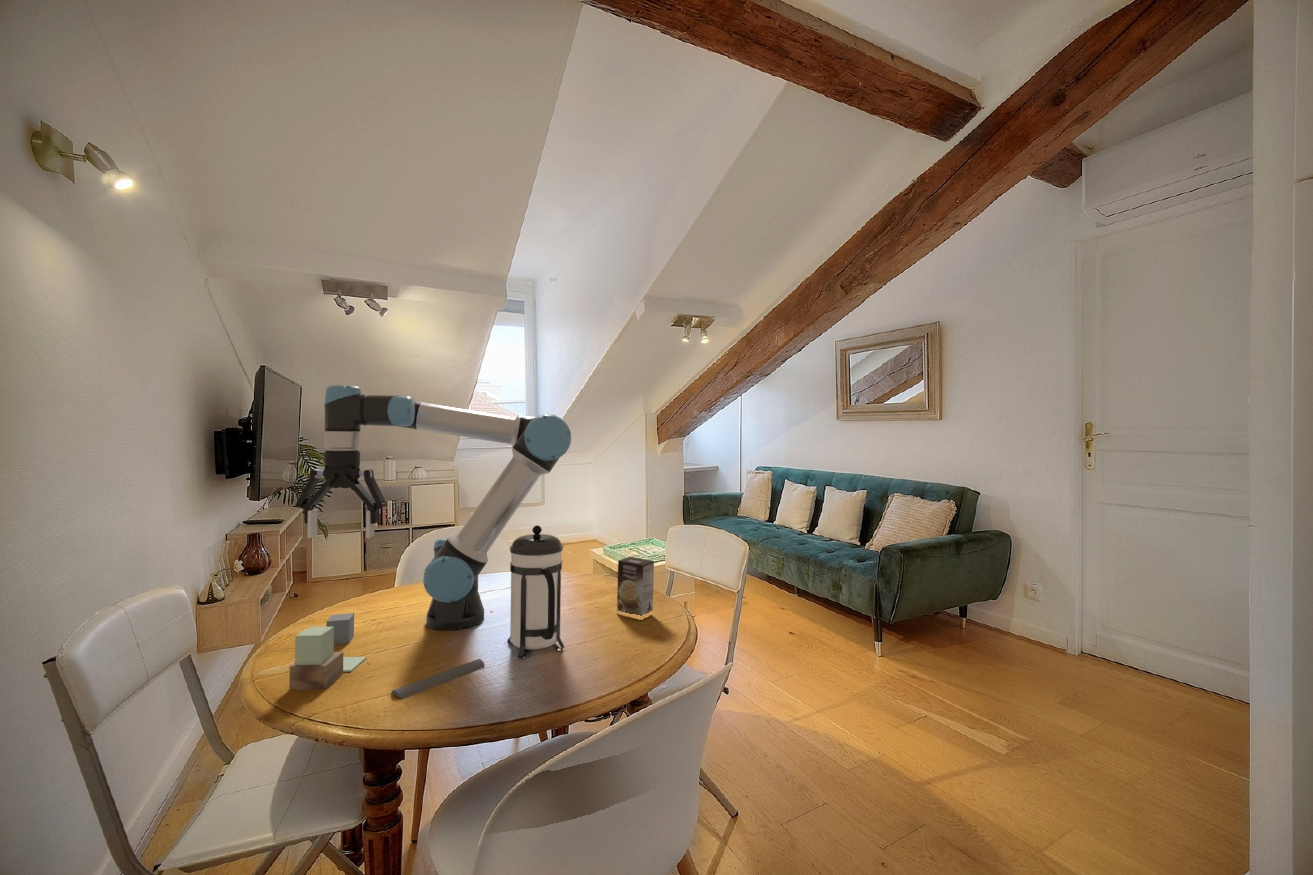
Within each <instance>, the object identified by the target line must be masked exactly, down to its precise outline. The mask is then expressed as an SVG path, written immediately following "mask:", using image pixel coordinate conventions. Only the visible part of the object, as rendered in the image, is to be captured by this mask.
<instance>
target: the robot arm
mask: <svg viewBox="0 0 1313 875" xmlns="http://www.w3.org/2000/svg"><path fill="white" fill-rule="evenodd" d="M323 406H324V439H323V440H324V441H323V442H324V444H323V447H324V448H325V449H327V450H324V453H323V461H324V462H323V464H324V469H323V470H322V469H320V468H314V469H310V471H309V479H307V482H306V484H305V486H304V487H303V490H302V492H301V493H300V495H299V497H298V499H297V501H296V502H295V507H296V508H299V509H302V510H303V513H304V514H303V515H304V518H303V519H304V524H307V539H312V538H315V537H317V536H318V512H319V510H318V509H317V508H316V506H317V505H318V504H319V502H321V500H322V499H323V498H324V497H325V496H326V495H327V494H328V492H329V491H331V490H332V489H340V488H341V489H350V490H352V491H353V492H354V493H355V495H357V496H358V497H359V499H360V500H361V501H362V502H363V503H364V504H365V505H366V507H367V508H368V509H369V510H365V513H366V515H365V516H366V517H365V538H366V539H370V538H371V539H372V538H373V537H375V531H376V530H375V527H376V526H375V524H378V522H379V510H380V509H382V508H385V507H387V505H388V504H387V502H386V499H385V498H384V495H383V493H382V492H381V490H380V487H379V485H378V483H377V481H376V479H375V474H374V470H373V469H371V468H370V469H364V470H361V468H360V465H361V451H360V450H358V449H360V448H361V426H381V427H382V426H383V427H399V428H405V429H413V430H419V431H426V432H432V433H437V434H438V433H439V434H445V435H450V436H456V437H462V438H470V439H476V440H482V441H489V442H494V443H501V444H505V445H507V444H508V445H510V446H512V448H511V451H512V452H511V453H512V458H511V459H510V460H509V462H508V463H507V464H506V466H505V467H504V468H503V470H502V472H501V473H500V474H499V476H498V478H497V479H496V480H495V481H494V483H493V485H491V487H490V489H489V490H488V492H487V493H486V494H485V495H484V497H483V498H482V500H481V501H480V503H479V504H478V505H477V507H476V508H475V510H474V511H473V513H472V514H471V516H470V517H469V518H468V519H467V521H466V522H465V524H464V525H463V526H462V528H461V530H460V531H459V533H458V534H455V535H450V536H448V537H447V538H439V539H436V540H435V541H434V546H433V558H432V560H431V561H430V562H429V563H428V565H426V567H425V568H424V572H423V580H422V581H423V587H424V589H425V592H426V593H427V594H428V595H429V596H430V597H431V601H430V605H429V607H428V610H427V613H426V616H425V617H426V619H425V620H426V622H425V623H426V626H427V627H429V628H431V629H434V630H439V631H441V630H442V631H452V630H460V629H467V628H470V627H473V626H476V625H478V624H480V623H482V622H483V621H484V619H485V608H484V605H483V601H482V600H481V596H480V593H479V575H480V573H481V572H482V570H484V568H485V566H486V565H487V563H488V562H489V558H488V552H489V550H490V548H491V547H492V546H493V545H494V542H495V541H496V540H497V539H498V537H499V535H500V534H501V533H502V531H503V530H504V528H505V527H506V526H507V524H508V523H509V522H510V520H511V518H512V517H513V515H515V512H516V511H517V510H518V509H519V507H520V505H522V503H523V501H524V500H525V498H526V497H527V496H528V494H529V492H531V489H533V487H534V486H535V484H536V482H537V481H538V480H539V478H540V477H541V476H542V475H545V474H546V475H547V474H550V472H551V471H552V469H554V467H555V465H556V464H557V463H558V461H559V459H560V458H561V457H563V455H565V454H566V453H567V451H568V450H569V448H570V446H571V441H572V433H571V432H572V431H571V430H570V427H569V425H568V424H567V422H566V421H564V420H563V419H562V417H559V416H557V415H555V414H550V413H543V414H540V415H537V416H527V415H520V414H519V415H517V416H516V417H512V416H511V417H510V416H505V415H498V414H493V413H487V412H481V411H475V410H469V409H463V408H458V407H452V406H446V405H440V404H434V403H428V402H427V403H426V402H422V401H421V402H420V401H416V400H414V399H413V397H411V396H407V395H406V396H404V395H399V394H398V395H396V394H395V395H382V394H381V395H380V394H379V395H376V394H375V395H369V394H362V390H361V388H360V387H359V386H356V385H344V384H343V385H341V384H339V385H337V384H336V385H334V384H333V385H329V386H327V387H326V389H325V394H324V405H323ZM360 477H361V479H363V480H364V483H365V484H366V486H367V488H368V491H369V492H370V493H369V492H368V491H367V489H365V487H364V486H363V484H362V483H361V481H360V480H359V479H360ZM321 478H325V481H324V482H323V483H322V484H321V486H320V488H318V490H317V491H316V492H315V493H314V491H315V489H316V487H317V486H318V484H319V482H320V479H321ZM313 494H314V495H313ZM370 494H371V495H370ZM312 495H313V496H312Z"/></svg>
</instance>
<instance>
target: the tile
mask: <svg viewBox="0 0 1313 875" xmlns="http://www.w3.org/2000/svg"><path fill="white" fill-rule="evenodd" d="M365 660H367V656H343V673H352V672H353V671H354V670H355V669H356V668H357V667H359V666H360V665H361V664H362V663H363V662H364V661H365Z"/></svg>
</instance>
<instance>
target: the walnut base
mask: <svg viewBox="0 0 1313 875" xmlns="http://www.w3.org/2000/svg"><path fill="white" fill-rule="evenodd" d="M343 657H344V651H334V653H333V656H331V657H330V658H329V659H327V660H326V661H325V662H324V663H322V664H321V665H295V662H294V663H292V664H291V665H290V666H289V685H288V686H289V691H309V690H310V691H311V690H312V691H313V690H319V691H321V690H327V689H328V688H329V687H330V686H331V685H332V684H333V683H335V682H336V681H337V680H338V679H339V678H341V677H342V676H343V675H344V672H343Z"/></svg>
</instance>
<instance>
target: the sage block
mask: <svg viewBox="0 0 1313 875" xmlns="http://www.w3.org/2000/svg"><path fill="white" fill-rule="evenodd" d="M294 637H295V638H294V641H295V642H294V647H295V648H294V651H295V652H294V663H295V665H321V664H322V663H324V662H325V661H326V660H327V659H329V658H330V657H331V656H333V653H334V652H335V650H334V648H335V645H334V627H326V626H309V627H307V628H306V629H304V630H302V631H300V632H299V633H297V634H296V635H295V636H294Z"/></svg>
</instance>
